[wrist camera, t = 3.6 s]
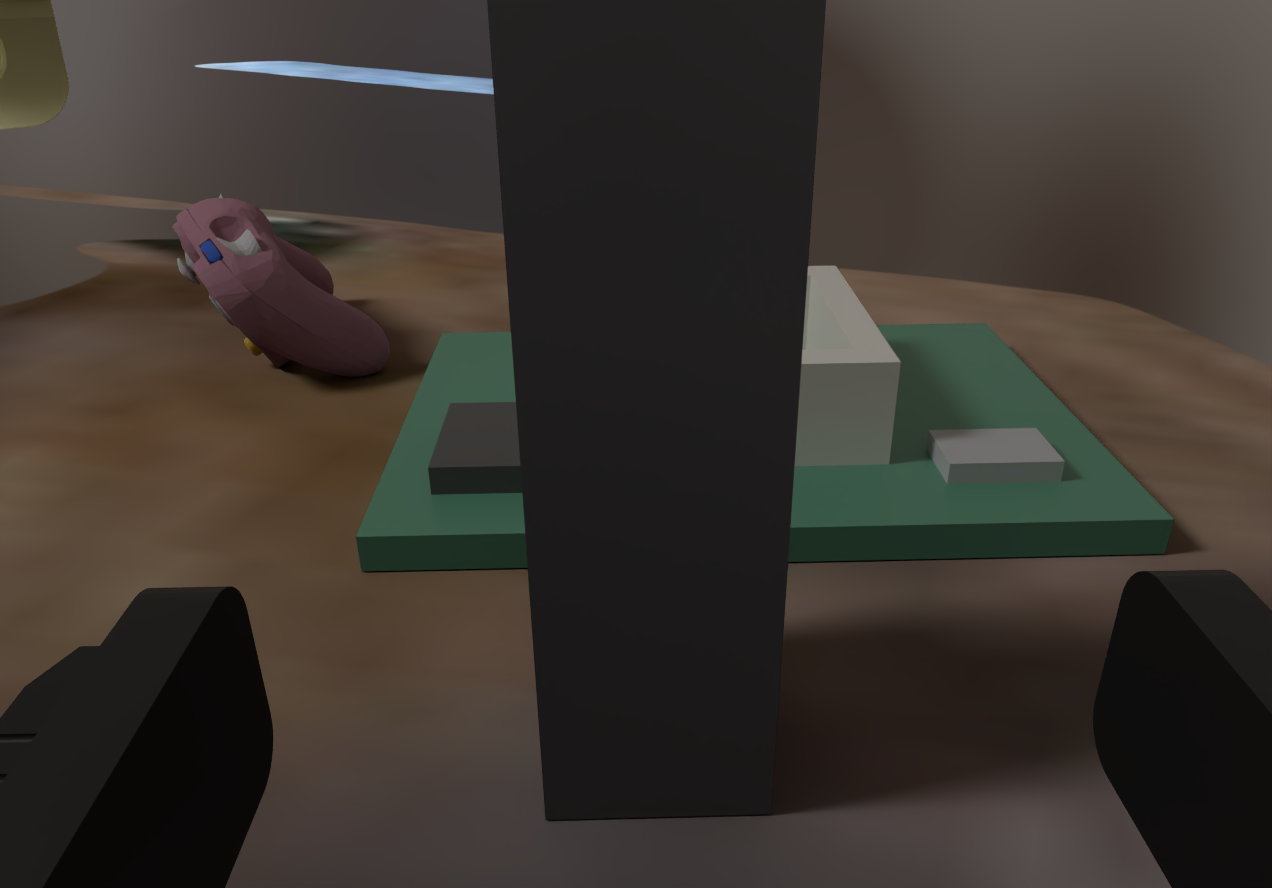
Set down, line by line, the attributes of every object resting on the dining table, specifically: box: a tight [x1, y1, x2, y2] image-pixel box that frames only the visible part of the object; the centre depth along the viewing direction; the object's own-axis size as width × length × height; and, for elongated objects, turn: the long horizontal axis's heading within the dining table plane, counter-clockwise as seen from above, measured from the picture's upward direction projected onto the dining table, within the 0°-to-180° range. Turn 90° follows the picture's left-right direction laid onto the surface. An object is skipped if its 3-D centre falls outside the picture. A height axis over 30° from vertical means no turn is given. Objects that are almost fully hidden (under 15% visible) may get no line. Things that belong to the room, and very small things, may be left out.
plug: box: [487, 0, 826, 820], centre depth 16 cm, size 4×5×17 cm
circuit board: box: [356, 266, 1174, 571], centre depth 30 cm, size 20×14×4 cm
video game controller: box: [172, 194, 390, 377], centre depth 37 cm, size 10×5×7 cm, turn 29°
